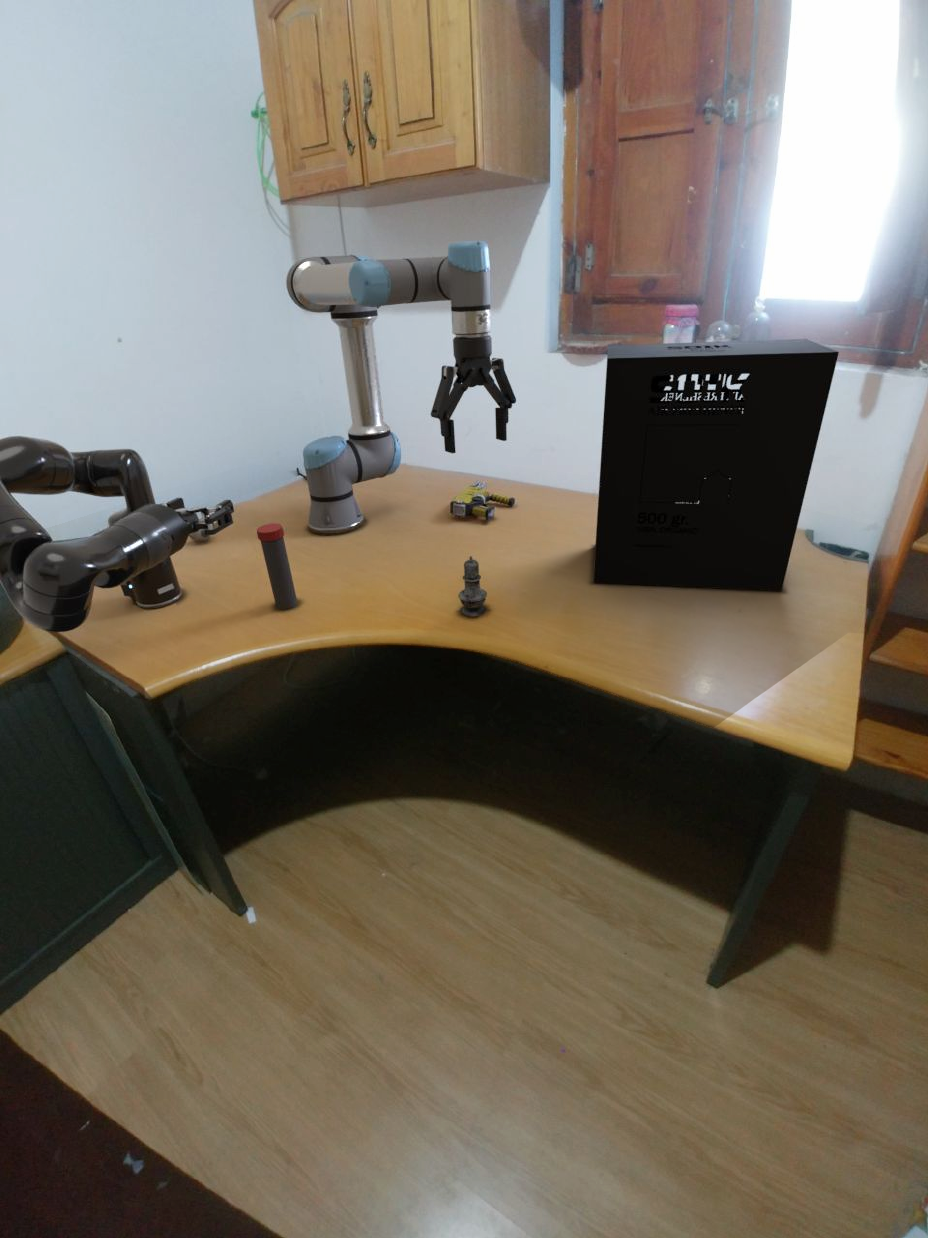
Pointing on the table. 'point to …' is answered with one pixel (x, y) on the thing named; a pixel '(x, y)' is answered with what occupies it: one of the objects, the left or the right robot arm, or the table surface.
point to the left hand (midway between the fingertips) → (206, 504)
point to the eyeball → (200, 535)
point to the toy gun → (477, 502)
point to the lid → (270, 532)
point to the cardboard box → (707, 461)
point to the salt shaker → (472, 590)
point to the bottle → (279, 573)
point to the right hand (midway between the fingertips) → (476, 445)
